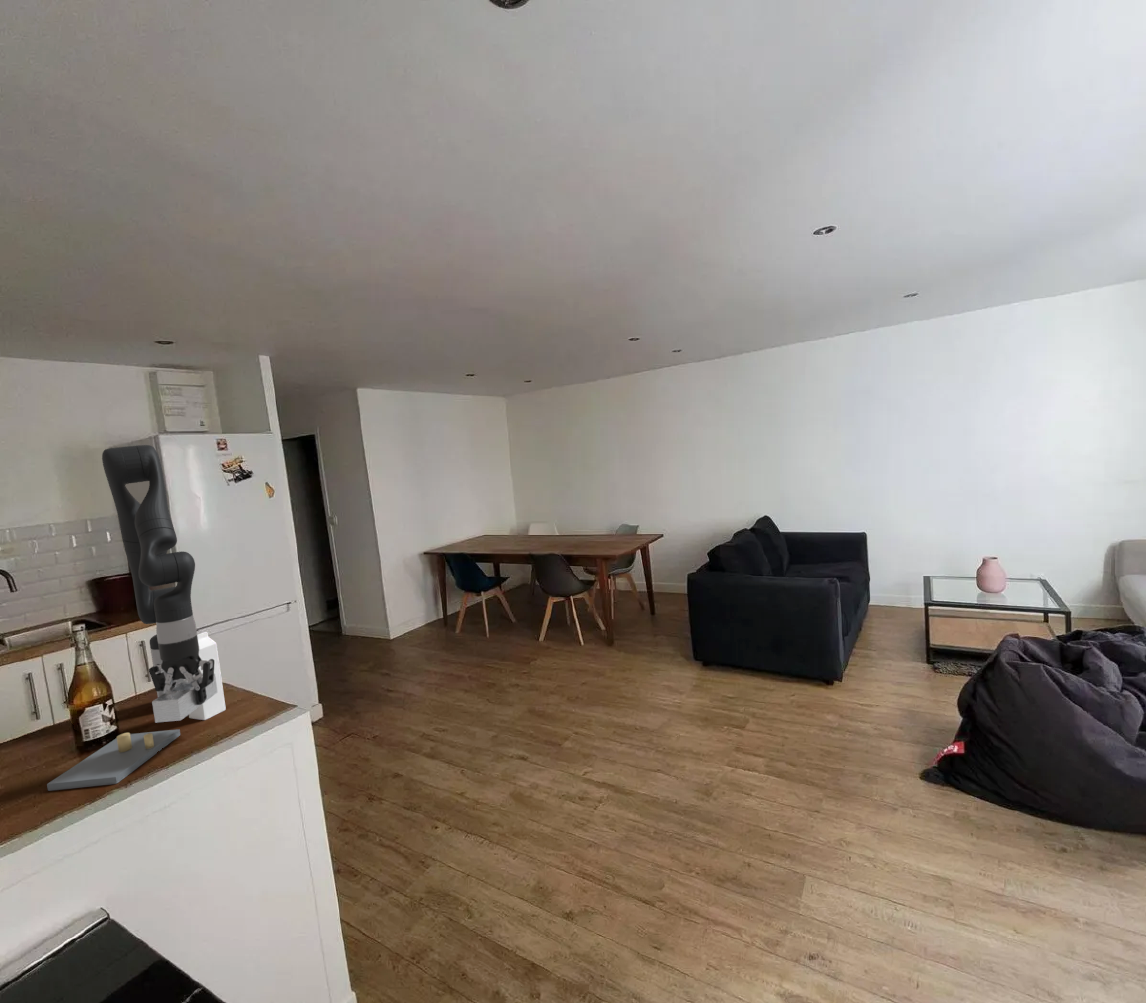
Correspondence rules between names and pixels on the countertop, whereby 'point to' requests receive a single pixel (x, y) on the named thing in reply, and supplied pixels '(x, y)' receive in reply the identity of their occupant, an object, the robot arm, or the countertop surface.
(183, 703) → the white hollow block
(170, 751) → the countertop surface
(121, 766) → the base plate
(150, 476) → the robot arm
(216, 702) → the milk
